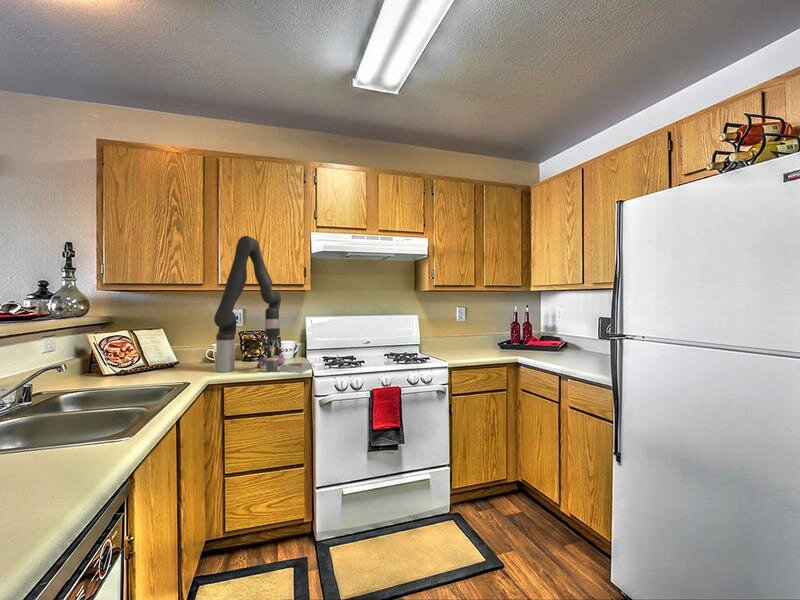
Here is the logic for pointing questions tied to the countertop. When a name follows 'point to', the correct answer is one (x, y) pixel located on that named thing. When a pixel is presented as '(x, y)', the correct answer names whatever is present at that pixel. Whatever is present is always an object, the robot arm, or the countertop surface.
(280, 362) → the toy
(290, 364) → the socket plate
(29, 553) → the countertop surface
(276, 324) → the robot arm
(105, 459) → the countertop surface
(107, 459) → the countertop surface
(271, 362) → the plug
